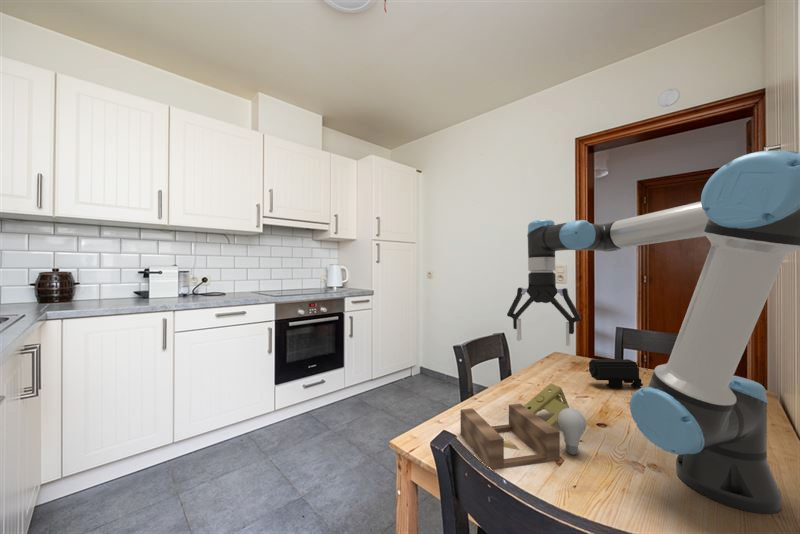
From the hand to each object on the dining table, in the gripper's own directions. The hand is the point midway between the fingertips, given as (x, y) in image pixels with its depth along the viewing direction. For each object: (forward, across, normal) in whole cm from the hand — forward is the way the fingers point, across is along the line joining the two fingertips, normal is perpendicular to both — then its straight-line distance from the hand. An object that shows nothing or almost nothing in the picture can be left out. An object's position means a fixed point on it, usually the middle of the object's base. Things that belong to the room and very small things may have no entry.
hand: (542, 342), depth 96 cm
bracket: (+26, -4, -3) cm, 27 cm away
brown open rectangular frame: (+23, +6, +21) cm, 32 cm away
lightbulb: (+24, -9, +15) cm, 29 cm away
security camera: (+23, -19, -45) cm, 54 cm away
